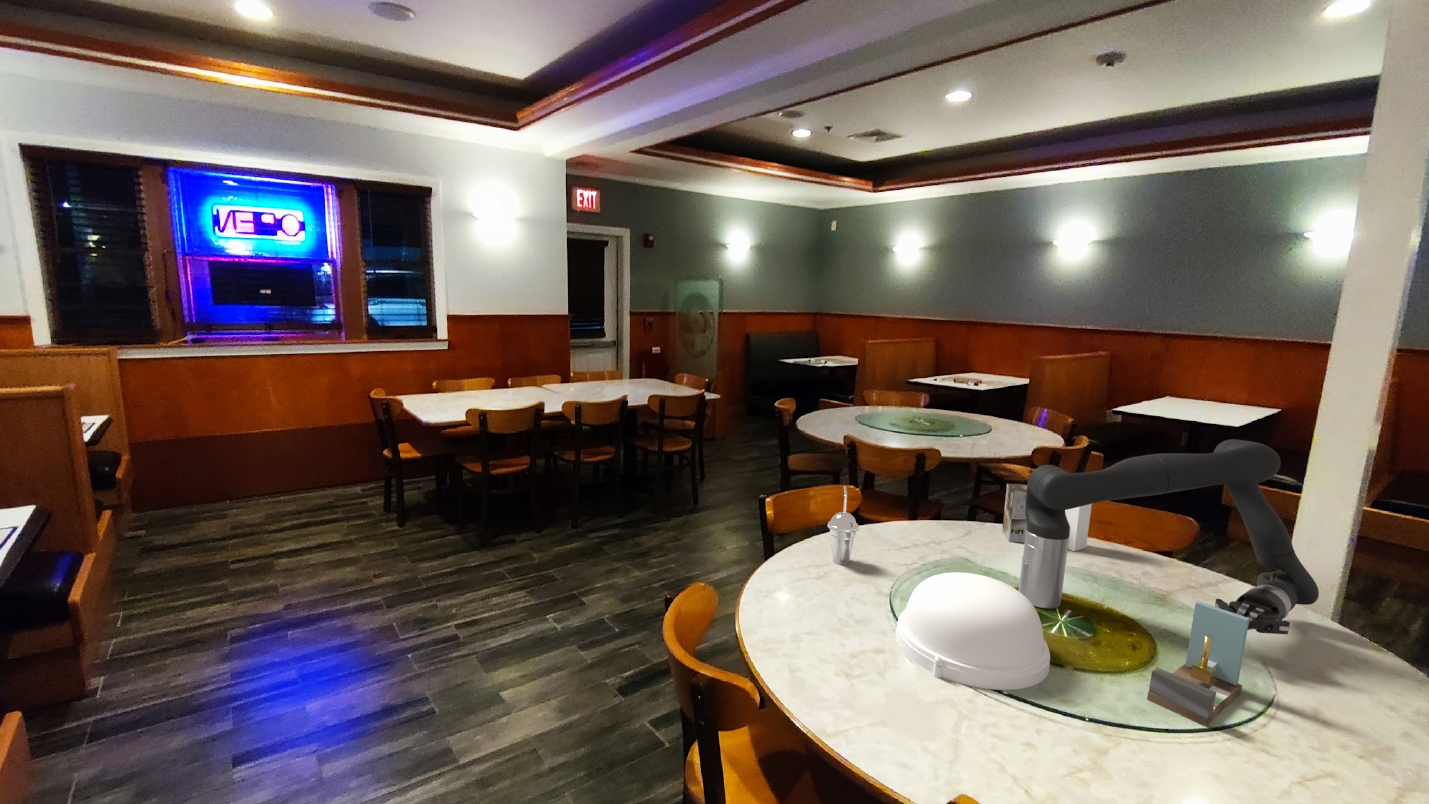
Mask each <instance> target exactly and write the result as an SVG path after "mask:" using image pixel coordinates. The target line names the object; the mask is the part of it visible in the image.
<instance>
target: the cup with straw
mask: <svg viewBox="0 0 1429 804" xmlns="http://www.w3.org/2000/svg"><path fill="white" fill-rule="evenodd" d="M843 494H844V498H843V499H844V500H843V511H841V512H840V511H839V512H837V513H835V514H834V515H833V516H832V518H831V519H830V520H829V521H828V522H827V525H826V526H827V528H828V529H829V531H830V536H831V540H830V541H831V554H832V555H831V556H832V562H833V563H835V564H838V565H847V564H849V563H850V559H851V555H852V550H853V546H854V545H853V544H854V540H855V536H856V533H857V532H858V531H859V530H860V527H859V526H860V525H859V524H858V523H857V522H856V518H855V517H854V516H853V515H852V513H849V512H847V503H848V491H847V486H846V485H843Z"/></svg>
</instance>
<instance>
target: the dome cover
mask: <svg viewBox="0 0 1429 804" xmlns="http://www.w3.org/2000/svg"><path fill="white" fill-rule="evenodd" d="M897 619H898V620H897V622H896V630H895V640H896V643H897V645H898V646H899V648H900V650H901V651H902V652H903V653H904V654H905V655H906V656H907V657H908V658H909V659H910V660H911V661H913V662H914V663H915V664H917V665H919V666H920V667H922V668H924V669H925V670H927V671H928V672H930V673H932V676H933V677H934V678H936V679H941V678H944V679H947V680H949V681H952V682H955V683H958V684H962V685H965V686H966V685H967V686H970V687H973V688H980V689H988V690H995V691H999V690H1000V691H1008V690H1009V691H1010V690H1011V691H1012V690H1021V689H1022V690H1023V689H1027V688H1031V687H1033V686H1036V685H1037V684H1039V683H1042V682H1043V681H1044V680H1045V679H1046V678H1047V677H1048V675H1049V672H1050V668H1051V667H1050V665H1051V652H1050V649H1049V646H1048V643H1047V641H1046V640H1045V638H1044V631H1043V627H1042V626H1043V625H1042V622H1041V619H1040V616H1039V613H1038V612H1037V610H1036V608H1035V606H1033V605H1032V604H1031V602H1030V601H1029V600H1028V599H1027V598H1026V597H1025V596H1024V595H1023V594H1022V593H1020V592H1019V589H1016V588H1015V587H1013V586H1011V585H1009V584H1007V583H1005V582H1003V581H1001V580H999V579H996V578H993V577H989V576H987V575H986V576H985V575H982V574H976V573H973V572H972V573H970V572H962V571H961V572H955V571H954V572H945V573H939V574H935V575H932V576H930V577H928V578H926V579H924V580H923V581H921V582H920V583H919V584H918V585H916V587H915V588H914V590H913V592H912V593H911V595H910V597H909V599H908V601H907V605H906V608H905V609H904V610H902V612H901V613H900V615H899V617H898V618H897Z"/></svg>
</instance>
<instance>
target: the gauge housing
mask: <svg viewBox="0 0 1429 804" xmlns="http://www.w3.org/2000/svg"><path fill="white" fill-rule="evenodd" d="M1191 668H1192V667H1190V666H1187V665H1186V662H1185V663H1184V664H1182V665H1181V666H1180V667H1179V668H1177V669H1176V670H1175V671H1174V672H1172V673H1171V672H1169V671H1168V670H1165V669H1163V668H1160V667H1159V666H1158V667H1156V668H1154V669H1153V670H1152V671H1151V675H1150V682H1149V688H1148V692H1147V698H1146V700H1148V701H1150V702H1152V703H1154V704H1156V705H1158V706H1160V707H1162V708H1165V709H1167V710H1169V711H1171V712H1173V713H1176V714H1178V715H1180V716H1182V717H1184V718H1186V719H1188V720H1191V721H1192V722H1195V723H1197V724H1199V725H1201V726H1204V727H1207V725H1209V723H1211V722H1212V721H1213V720H1214V719H1215V718H1216V717H1217V716H1218V715H1219V714H1220V713H1221V712H1222V711H1224V709H1225V708H1227V707H1228V705H1230V704H1231V703H1232V702H1233V701H1234V700H1235V699H1236V698H1237V697H1238V696H1239V695H1240V694H1241V693H1242V690H1243V685H1242V684H1240V683H1239V682H1238V683H1237V684H1236V685H1234V684H1231V683H1229V682H1226V681H1224V680H1221V679H1219V678H1216V677H1214V679H1213V681H1212V682H1211V683H1210V684H1208V683H1206V682H1203V681H1201V680H1198V679H1196V678H1194V677H1191V676H1190V674H1191ZM1231 701H1232V702H1231Z"/></svg>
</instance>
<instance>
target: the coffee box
mask: <svg viewBox="0 0 1429 804" xmlns="http://www.w3.org/2000/svg"><path fill="white" fill-rule="evenodd" d="M1005 491H1006V492H1005V502H1004V511H1003V520H1002V531H1001V532H1002V533H1003V535H1004V536H1005V538H1006V539H1007V540H1008V542H1013V543H1014V542H1015V543H1022V544H1025V536H1026V527H1027V521H1026V516H1025V505H1026V492H1027V484H1022V483H1006V490H1005Z"/></svg>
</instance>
